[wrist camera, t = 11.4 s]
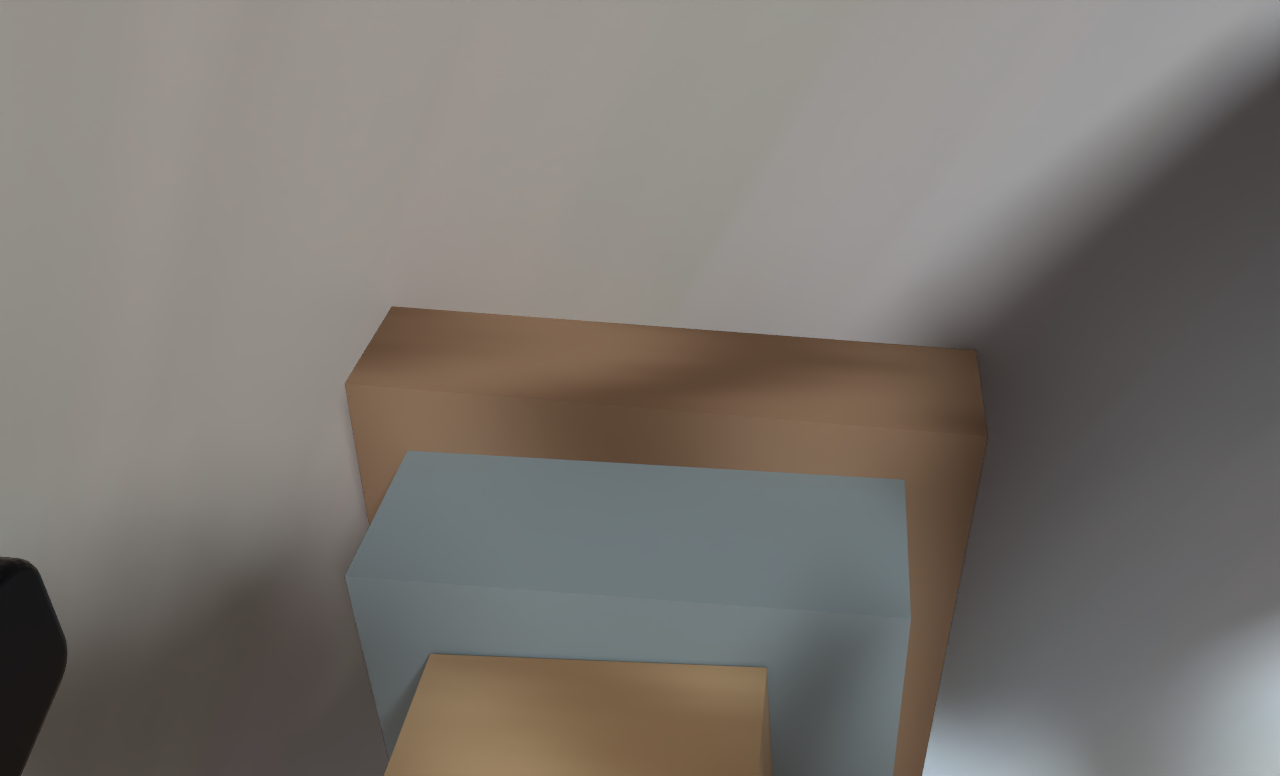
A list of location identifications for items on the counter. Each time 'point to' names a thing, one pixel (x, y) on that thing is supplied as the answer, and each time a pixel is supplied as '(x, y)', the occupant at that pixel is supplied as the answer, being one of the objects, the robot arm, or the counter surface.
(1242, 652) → the counter surface
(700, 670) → the oak block
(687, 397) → the tower base
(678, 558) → the tower top
